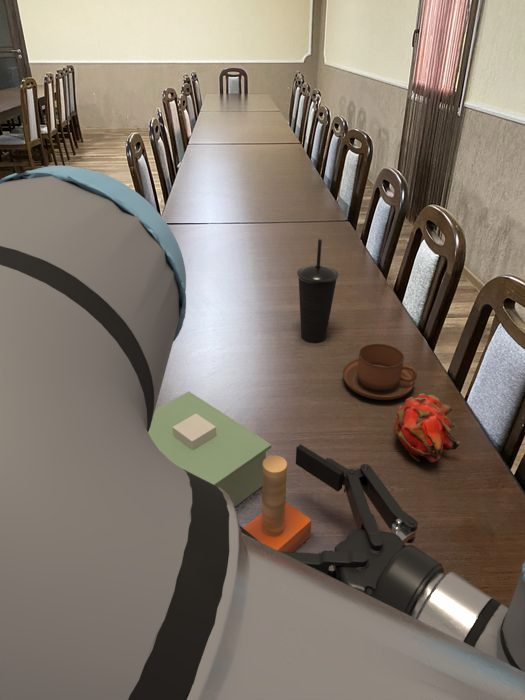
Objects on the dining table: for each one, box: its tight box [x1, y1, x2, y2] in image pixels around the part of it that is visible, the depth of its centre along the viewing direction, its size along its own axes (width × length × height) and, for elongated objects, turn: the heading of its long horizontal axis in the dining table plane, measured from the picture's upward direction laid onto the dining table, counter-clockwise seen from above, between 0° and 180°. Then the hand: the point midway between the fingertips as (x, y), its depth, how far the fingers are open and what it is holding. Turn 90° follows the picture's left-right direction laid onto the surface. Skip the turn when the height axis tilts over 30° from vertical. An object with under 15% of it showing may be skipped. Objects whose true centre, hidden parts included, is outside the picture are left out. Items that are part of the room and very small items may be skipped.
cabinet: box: [148, 391, 272, 507], centre depth 72 cm, size 17×12×7 cm
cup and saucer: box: [342, 343, 418, 401], centre depth 91 cm, size 12×12×6 cm
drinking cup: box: [296, 238, 339, 344], centre depth 101 cm, size 8×8×20 cm
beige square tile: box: [172, 414, 216, 450], centre depth 70 cm, size 4×4×2 cm
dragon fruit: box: [393, 392, 461, 464], centre depth 77 cm, size 8×8×12 cm
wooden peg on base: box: [242, 454, 313, 552], centre depth 60 cm, size 5×8×13 cm, turn 136°
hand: (258, 483), depth 61 cm, fingers open, 13 cm apart
